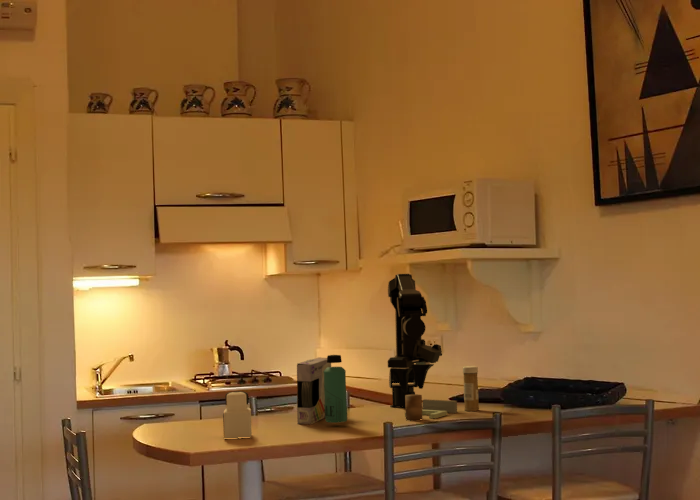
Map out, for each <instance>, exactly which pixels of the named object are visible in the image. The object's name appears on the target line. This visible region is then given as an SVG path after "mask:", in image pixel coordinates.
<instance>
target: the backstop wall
mask: <svg viewBox="0 0 700 500" xmlns="http://www.w3.org/2000/svg"><path fill="white" fill-rule="evenodd" d="M422 410H440V411H447V414H456V413H458V400H448V399H447V400H445V399H443V400H442V399H425V398H424V399H422Z"/></svg>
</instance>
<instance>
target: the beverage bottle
mask: <svg viewBox="0 0 700 500" xmlns="http://www.w3.org/2000/svg"><path fill="white" fill-rule="evenodd" d="M326 358H327V363H331V364H337V363H338V364H339V363H340V364H341V363H342V362H343V360H342V356H341V354H330V355H329V354H328V355H327V356H326ZM346 371H347V370H346V369H345V368H344V367H342V366H331V367H327V368H326V369H325V370H324V394H325V401H324V402H325V405H324V407H325V418H324V420H325V422H327V423H333V424H334V423H336V424H337V423H345V422H347V421H348V418H349V417H348V415H349V414H348V413H349V412H348V404H347V403H348V398H347V382H346V381H347V379H346V377H347V376H346Z"/></svg>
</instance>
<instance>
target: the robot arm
mask: <svg viewBox="0 0 700 500" xmlns="http://www.w3.org/2000/svg"><path fill="white" fill-rule="evenodd" d="M387 285H388V286H387V295H388V296H387V297H388V298H389V301H390V304H391V305H392V306H393V308H394V312H395V315H394V318H395V320H394V321H395V356H393V357H391V356H390V357H389V358H388V360H387V368H389V375H388V377H389V378H388V387H389V388H390V389H391V390H392V391H391V392H392V404H391V405H389V407H390V408H403V409H404V408H405V409H406V407H405V395H411V394H416V391H414V390H415V388H418V389H421V390H422V389H423V388H424V385H425V381H426V378H427V374H428V371H429V370H430V369H431V368H432V367H434V365H435V364H436V363H437V362H439V359H440V357H442V356H443V352H442V351H443V350H442V345H440V344H437V343H434V344H432V345H427V344H426V340H425V339H423V338H422V337H423V335H424V334H425V332H426V324H425V321H423V319H422V317H426V316H427V314H428V306H427V301H426V299H425V296H422V293H421V292H420V290H416V289H417V287H416V280H415V279H413V274H410V273H397V274H395V276H394V277H393V278H392V279H391V280H389V281H388V284H387Z"/></svg>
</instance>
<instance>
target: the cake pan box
mask: <svg viewBox="0 0 700 500" xmlns="http://www.w3.org/2000/svg"><path fill="white" fill-rule="evenodd" d="M327 367H332V363H327V357H321V356H320V357H319V356H318V357H316V358H312V359H307V360H305V361H302V362H297V364H296V389H297V390H296V409H297V411H296V412H297V413H296V416H297V417H296V418H297V421H296V422H297V425H312V424H314V423H317V422H319V421H320V420H323V419H325V407H324V405H325V402H324V401H325V394H324V370H325V369H326V368H327Z"/></svg>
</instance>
